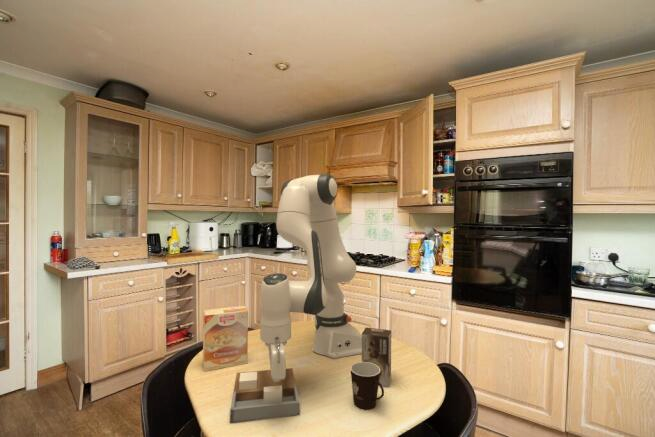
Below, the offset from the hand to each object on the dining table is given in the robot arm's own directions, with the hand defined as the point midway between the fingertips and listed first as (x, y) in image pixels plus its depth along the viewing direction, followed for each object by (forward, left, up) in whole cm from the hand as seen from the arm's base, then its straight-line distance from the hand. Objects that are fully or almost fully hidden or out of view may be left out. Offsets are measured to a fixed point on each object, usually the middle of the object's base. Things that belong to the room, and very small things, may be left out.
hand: (276, 379), depth 91 cm
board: (+3, -7, -7) cm, 11 cm away
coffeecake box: (+17, -27, -7) cm, 33 cm away
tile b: (+8, -5, -3) cm, 10 cm away
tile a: (+1, +3, -4) cm, 5 cm away
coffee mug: (-25, +7, -7) cm, 27 cm away
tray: (+3, +3, -7) cm, 8 cm away
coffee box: (-33, -6, -7) cm, 34 cm away
